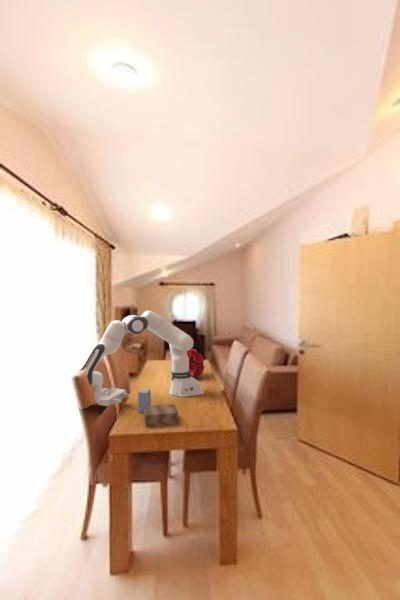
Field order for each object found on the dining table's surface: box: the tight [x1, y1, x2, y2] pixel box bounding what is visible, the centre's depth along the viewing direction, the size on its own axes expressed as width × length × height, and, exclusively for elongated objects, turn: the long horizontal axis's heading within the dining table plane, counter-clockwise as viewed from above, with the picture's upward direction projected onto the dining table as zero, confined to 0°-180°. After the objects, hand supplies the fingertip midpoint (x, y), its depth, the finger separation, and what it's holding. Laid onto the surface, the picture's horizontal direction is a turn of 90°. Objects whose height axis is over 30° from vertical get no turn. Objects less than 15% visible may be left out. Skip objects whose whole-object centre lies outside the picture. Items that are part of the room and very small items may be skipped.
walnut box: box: [143, 403, 179, 428], centre depth 182 cm, size 16×14×6 cm
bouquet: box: [186, 348, 205, 378], centre depth 275 cm, size 22×24×30 cm
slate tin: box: [137, 387, 152, 414], centre depth 196 cm, size 5×5×12 cm
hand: (125, 398), depth 200 cm, fingers open, 8 cm apart
